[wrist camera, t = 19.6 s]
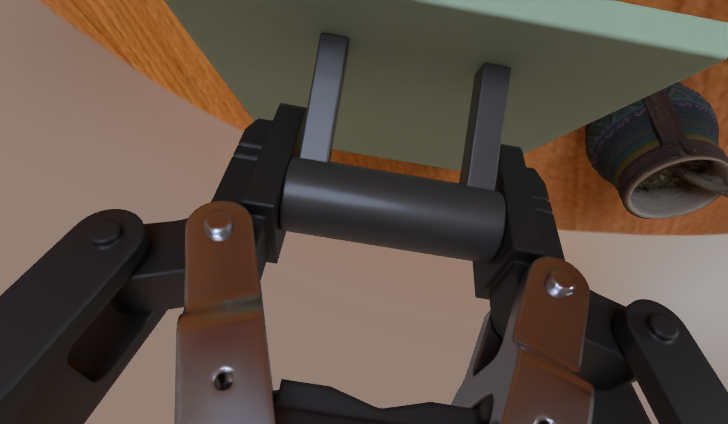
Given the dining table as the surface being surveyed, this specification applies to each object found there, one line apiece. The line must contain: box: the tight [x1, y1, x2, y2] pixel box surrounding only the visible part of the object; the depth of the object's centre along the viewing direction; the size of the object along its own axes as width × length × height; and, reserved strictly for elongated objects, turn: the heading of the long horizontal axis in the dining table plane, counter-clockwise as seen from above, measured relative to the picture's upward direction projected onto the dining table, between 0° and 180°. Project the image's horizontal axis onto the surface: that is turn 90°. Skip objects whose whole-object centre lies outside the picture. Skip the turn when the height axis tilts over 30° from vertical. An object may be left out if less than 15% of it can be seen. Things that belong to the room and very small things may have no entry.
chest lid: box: [164, 0, 728, 263], centre depth 15 cm, size 14×12×6 cm
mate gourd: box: [585, 82, 728, 219], centre depth 25 cm, size 7×8×10 cm
